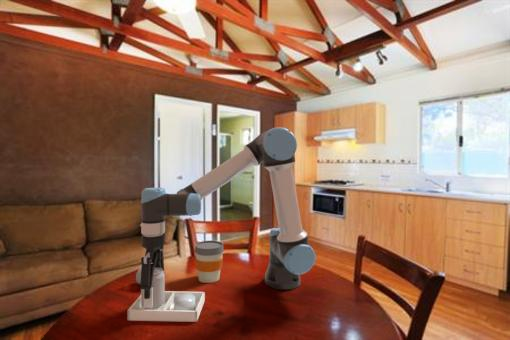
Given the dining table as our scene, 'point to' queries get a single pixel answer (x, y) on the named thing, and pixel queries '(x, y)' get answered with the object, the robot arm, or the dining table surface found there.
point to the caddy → (167, 309)
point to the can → (156, 289)
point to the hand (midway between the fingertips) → (153, 300)
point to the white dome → (184, 302)
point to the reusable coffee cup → (209, 260)
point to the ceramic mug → (138, 276)
